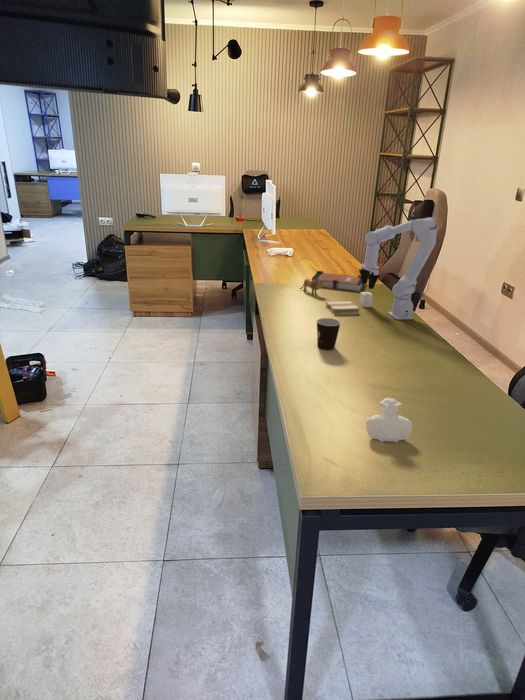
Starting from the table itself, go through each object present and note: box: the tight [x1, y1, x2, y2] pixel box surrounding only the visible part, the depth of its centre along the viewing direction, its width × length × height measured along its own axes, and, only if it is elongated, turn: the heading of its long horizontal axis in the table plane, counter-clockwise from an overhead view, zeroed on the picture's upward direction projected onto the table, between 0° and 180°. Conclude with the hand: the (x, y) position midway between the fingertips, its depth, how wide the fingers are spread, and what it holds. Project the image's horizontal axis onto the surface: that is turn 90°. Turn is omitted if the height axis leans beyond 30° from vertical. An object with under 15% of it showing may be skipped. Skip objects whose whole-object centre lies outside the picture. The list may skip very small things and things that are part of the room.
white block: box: [358, 291, 374, 308], centre depth 228 cm, size 4×4×6 cm
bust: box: [365, 397, 413, 443], centre depth 124 cm, size 12×8×11 cm
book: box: [311, 270, 364, 293], centre depth 260 cm, size 26×18×5 cm
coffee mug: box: [316, 317, 341, 351], centre depth 179 cm, size 12×9×10 cm
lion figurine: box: [299, 278, 324, 296], centre depth 243 cm, size 15×5×9 cm, turn 44°
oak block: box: [325, 300, 361, 316], centre depth 220 cm, size 12×12×3 cm
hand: (367, 286), depth 225 cm, fingers open, 7 cm apart
